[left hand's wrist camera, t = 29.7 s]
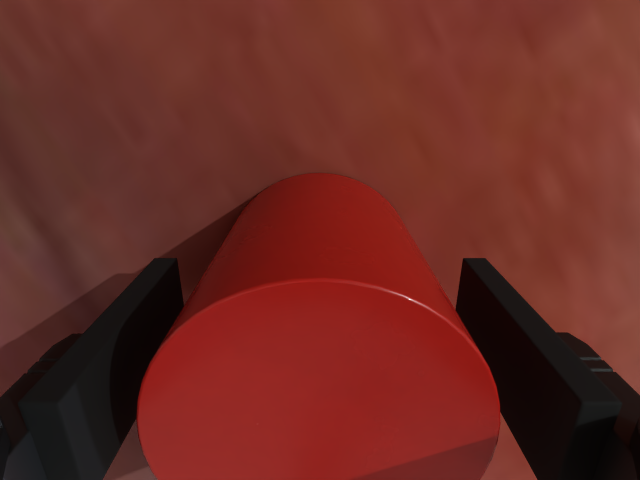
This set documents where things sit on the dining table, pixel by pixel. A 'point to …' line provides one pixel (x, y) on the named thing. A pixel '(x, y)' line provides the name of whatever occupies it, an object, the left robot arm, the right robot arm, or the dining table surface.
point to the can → (318, 353)
